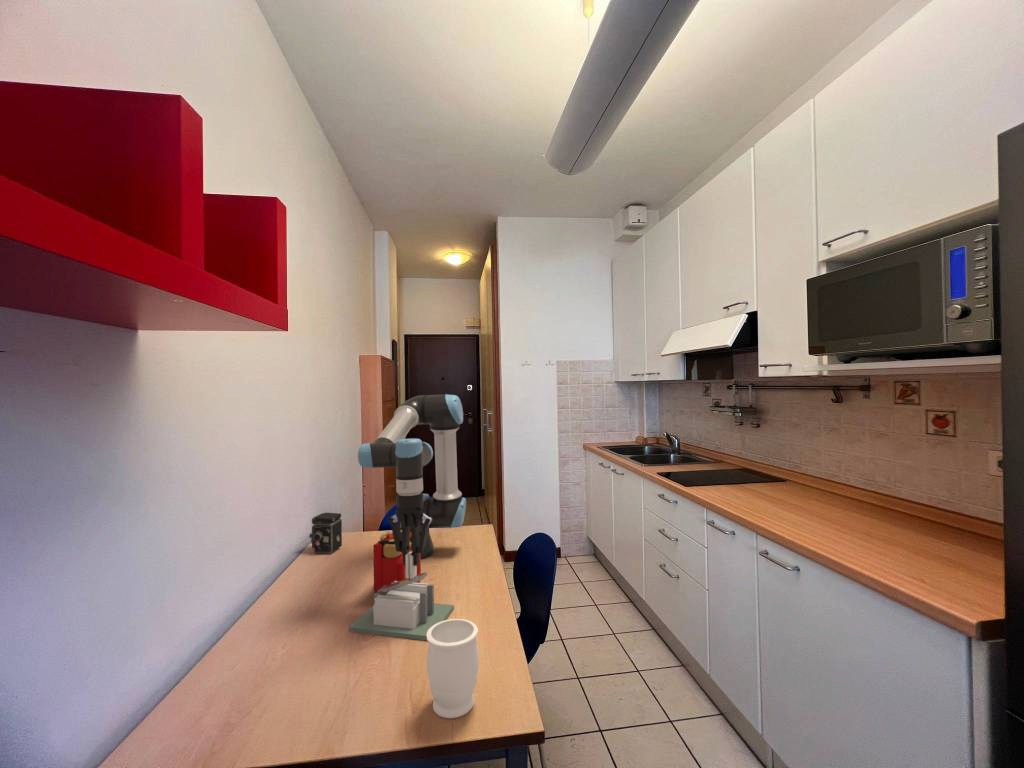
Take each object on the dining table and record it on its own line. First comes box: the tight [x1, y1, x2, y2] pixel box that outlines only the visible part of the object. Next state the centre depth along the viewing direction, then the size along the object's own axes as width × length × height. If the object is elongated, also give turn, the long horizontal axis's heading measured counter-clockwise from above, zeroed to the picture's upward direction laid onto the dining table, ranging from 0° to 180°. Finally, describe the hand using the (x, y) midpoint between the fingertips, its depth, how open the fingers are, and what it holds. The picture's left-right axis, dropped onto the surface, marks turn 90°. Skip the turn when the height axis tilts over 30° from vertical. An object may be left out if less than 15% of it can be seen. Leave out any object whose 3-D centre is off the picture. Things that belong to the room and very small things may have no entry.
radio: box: [373, 528, 422, 595], centre depth 141 cm, size 16×10×20 cm, turn 168°
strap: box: [377, 571, 428, 595], centre depth 123 cm, size 15×3×2 cm, turn 78°
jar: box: [426, 618, 480, 719], centre depth 89 cm, size 11×10×15 cm
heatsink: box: [348, 581, 455, 642], centre depth 123 cm, size 24×17×9 cm
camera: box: [309, 512, 343, 555], centre depth 179 cm, size 10×10×15 cm
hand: (411, 576), depth 122 cm, fingers closed
